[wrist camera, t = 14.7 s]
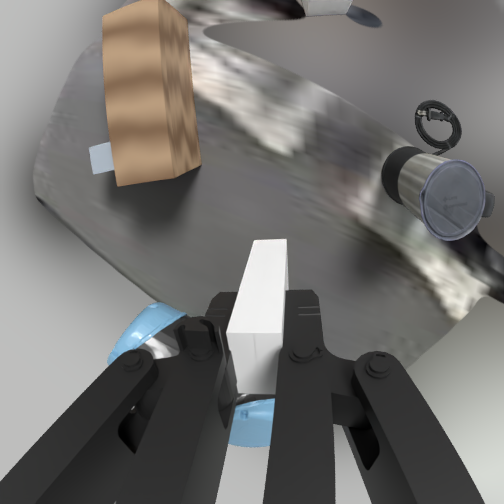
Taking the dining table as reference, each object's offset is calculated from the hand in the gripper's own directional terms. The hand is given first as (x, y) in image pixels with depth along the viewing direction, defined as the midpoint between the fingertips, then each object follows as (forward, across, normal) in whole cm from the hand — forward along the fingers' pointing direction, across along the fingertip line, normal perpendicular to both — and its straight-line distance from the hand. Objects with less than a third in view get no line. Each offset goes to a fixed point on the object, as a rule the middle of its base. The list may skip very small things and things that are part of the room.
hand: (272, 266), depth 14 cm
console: (+29, +16, -14) cm, 36 cm away
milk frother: (+30, -21, -3) cm, 36 cm away
